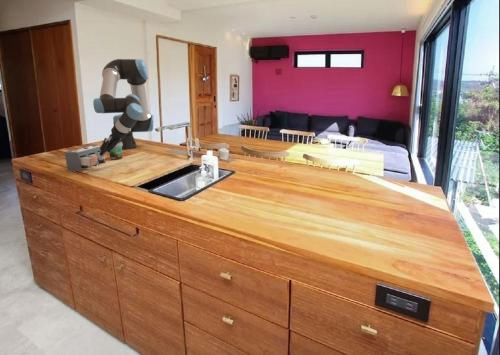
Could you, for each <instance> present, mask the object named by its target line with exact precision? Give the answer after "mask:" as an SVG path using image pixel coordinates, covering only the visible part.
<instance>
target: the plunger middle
mask: <svg viewBox="0 0 500 355" xmlns="http://www.w3.org/2000/svg"><path fill="white" fill-rule="evenodd" d="M89 157H92V158H95V160H96V161H98V160H97V155H96V154H89Z"/></svg>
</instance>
